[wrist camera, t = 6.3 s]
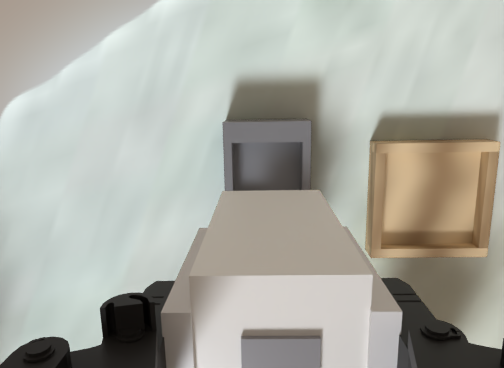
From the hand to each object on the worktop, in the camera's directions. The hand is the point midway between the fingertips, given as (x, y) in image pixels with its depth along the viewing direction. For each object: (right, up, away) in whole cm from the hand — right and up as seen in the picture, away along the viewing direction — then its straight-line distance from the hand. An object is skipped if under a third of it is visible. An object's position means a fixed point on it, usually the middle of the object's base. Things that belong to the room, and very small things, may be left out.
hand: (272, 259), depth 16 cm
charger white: (0, +1, +3) cm, 3 cm away
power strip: (+1, -4, +21) cm, 21 cm away
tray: (+14, +2, +19) cm, 24 cm away
